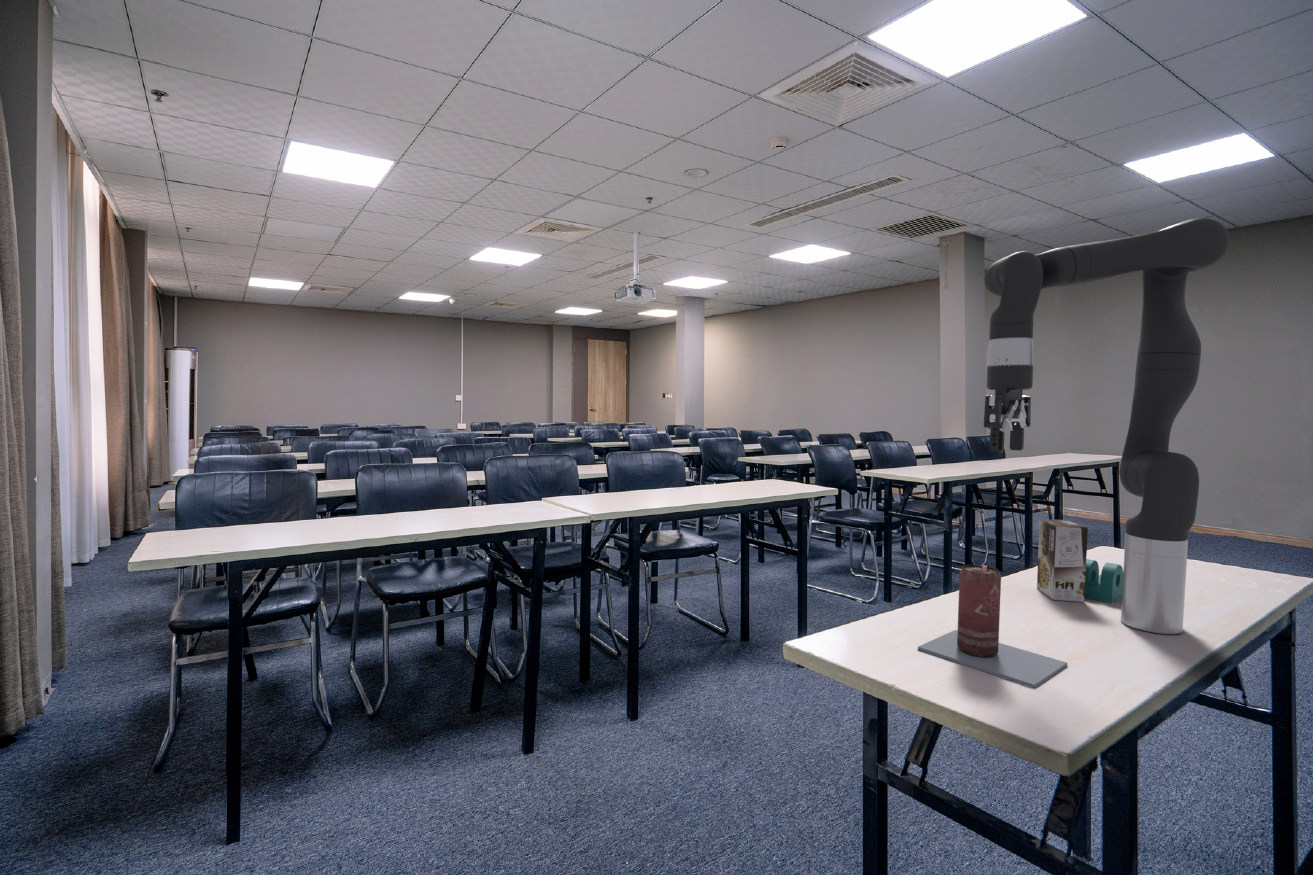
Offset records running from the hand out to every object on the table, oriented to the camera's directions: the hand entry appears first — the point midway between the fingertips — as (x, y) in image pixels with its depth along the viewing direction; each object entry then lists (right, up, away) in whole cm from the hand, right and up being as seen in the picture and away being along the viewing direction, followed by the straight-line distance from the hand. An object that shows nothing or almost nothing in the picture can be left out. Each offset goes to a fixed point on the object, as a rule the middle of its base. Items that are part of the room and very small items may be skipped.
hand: (1006, 451), depth 117 cm
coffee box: (+23, -32, +20) cm, 45 cm away
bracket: (+36, -33, +23) cm, 54 cm away
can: (-12, -33, -13) cm, 38 cm away
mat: (-11, -34, -14) cm, 38 cm away
